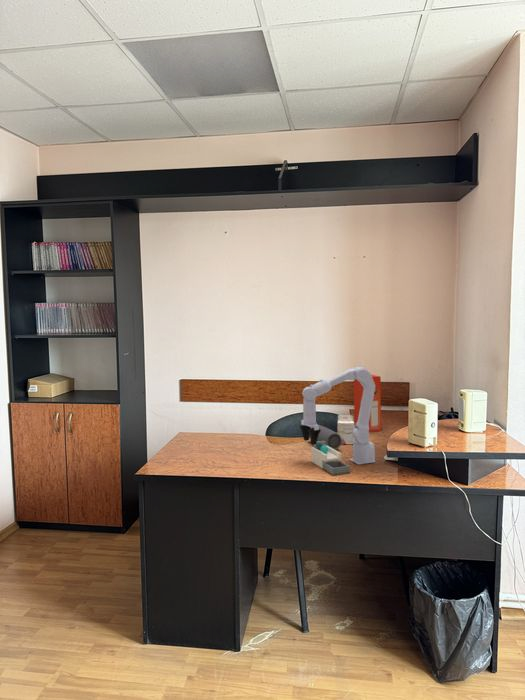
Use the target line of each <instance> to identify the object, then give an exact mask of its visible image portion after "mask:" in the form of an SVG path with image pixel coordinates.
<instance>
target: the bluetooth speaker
mask: <svg viewBox="0 0 525 700" xmlns="http://www.w3.org/2000/svg"><path fill="white" fill-rule="evenodd" d="M317 425H318V426H319V429H320V430H321V431H320V433H319V435H318V438H317V441H326V445H327V446H329V447H331V448H333V449H334V450H337V449H339V448H340V447H341V446H342V444H341V442H342V440H341V437H340V435H339V434H337V431H334V430H332V429H331V428H328V427H326V426H323V425H320V424H318V423H317ZM311 429H312V428H311ZM309 438H310V434H309Z"/></svg>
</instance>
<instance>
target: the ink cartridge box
mask: <svg viewBox="0 0 525 700" xmlns="http://www.w3.org/2000/svg"><path fill="white" fill-rule="evenodd" d="M336 428H337V431H336V433H337V434H339V435H340V437H341V440H342V442H341V445H343V444H353V440H354V437H353V435H352V431H353V429H354V428H355V426H354V415H348V414H347V415H338V416H337V427H336Z"/></svg>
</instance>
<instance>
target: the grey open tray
mask: <svg viewBox="0 0 525 700" xmlns="http://www.w3.org/2000/svg"><path fill="white" fill-rule="evenodd" d="M350 467H351V465H349V464H346V462H343V461H341V460H338V461H336V462H329V463H324V468H323V471H326V472H327V473H328V474H330V475H331V476H338V475H346V474H350V472H351V471H350Z"/></svg>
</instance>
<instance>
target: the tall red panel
mask: <svg viewBox="0 0 525 700" xmlns="http://www.w3.org/2000/svg"><path fill="white" fill-rule="evenodd" d="M371 375H372V379H373V381H374V383H375V392H374V397H373V402H372V408H371V413H370V418H369V433H374V432H381V431H382V405H381V402H382V401H381V400H382V398H381V397H382V393H381V390H382V389H381V382H382V381H381V376H379V375H376V374H371ZM363 389H364V387H363V386H362V385H361V383H360V382H359V381H358V380H356V379H355V380H353V407H354V408H353V411H354V412H353V414H354V415H353V421H354V427H355V426H356V422H357V421H358V416H359V411H360V406H361V400H362V395H363Z"/></svg>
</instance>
